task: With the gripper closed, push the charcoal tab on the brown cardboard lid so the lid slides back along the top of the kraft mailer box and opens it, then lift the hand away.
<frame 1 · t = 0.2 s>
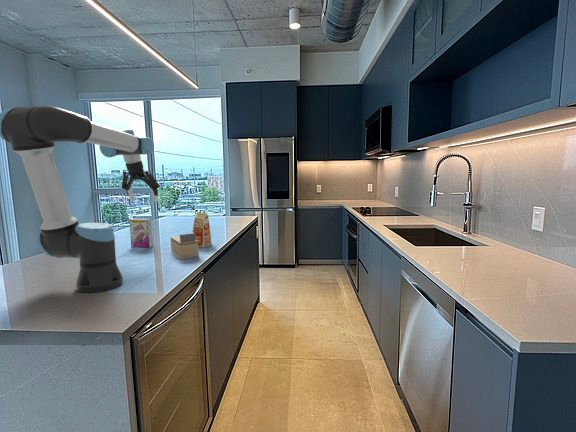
hand: (144, 201, 168), 28 cm above the counter, tool tilted 20°, fingers open, 13 cm apart
candy bar box: (142, 247, 187), on the counter
mailer box: (184, 254, 168), on the counter
milk carton: (202, 245, 190), on the counter
mailer lid: (183, 236, 167), point 10 cm above the counter, slide at 0.0 cm
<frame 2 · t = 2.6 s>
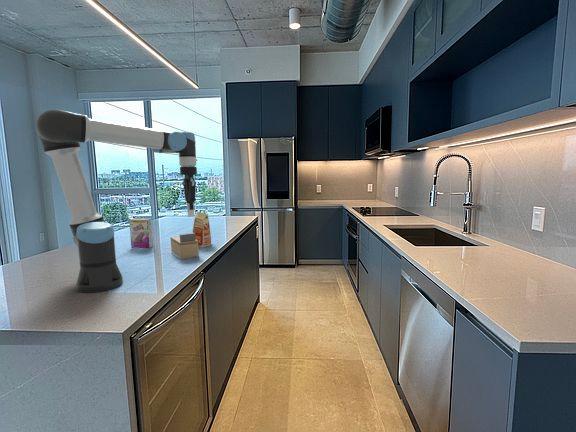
hand: (191, 216, 154), 21 cm above the counter, tool pointing down, fingers closed
nothing on the counter moved.
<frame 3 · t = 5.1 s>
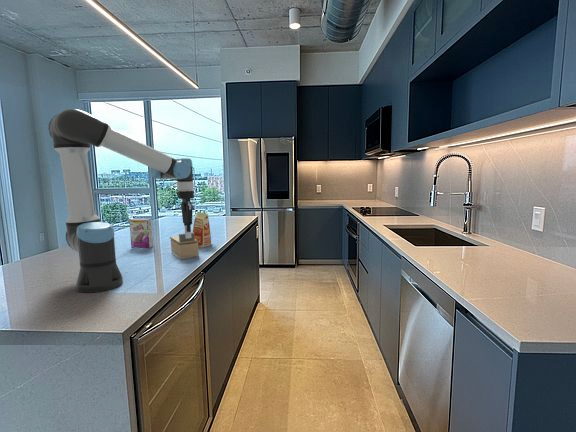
hand: (188, 238, 161), 10 cm above the counter, tool pointing down, fingers closed
mailer lid: (183, 235, 168), point 10 cm above the counter, slide at 1.3 cm, touching gripper
everything else where it was.
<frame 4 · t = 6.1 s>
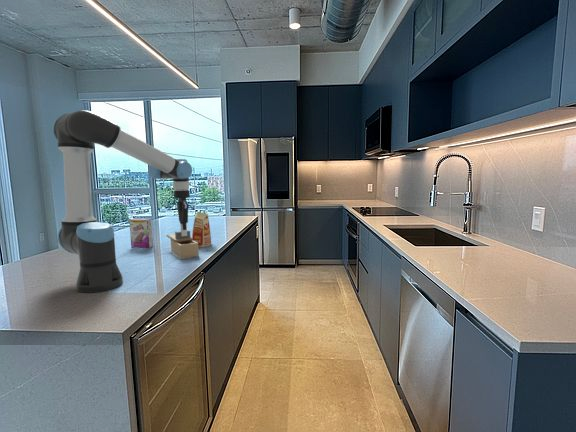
hand: (184, 235, 167), 10 cm above the counter, tool pointing down, fingers closed
mailer lid: (179, 233, 174), point 10 cm above the counter, slide at 8.5 cm, touching gripper
everything else where it was.
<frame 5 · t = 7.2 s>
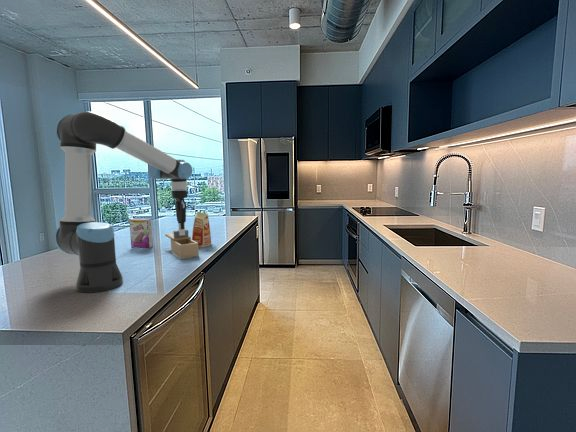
hand: (182, 235, 170), 10 cm above the counter, tool pointing down, fingers closed
mailer lid: (177, 232, 177), point 10 cm above the counter, slide at 11.9 cm, touching gripper
everything else where it was.
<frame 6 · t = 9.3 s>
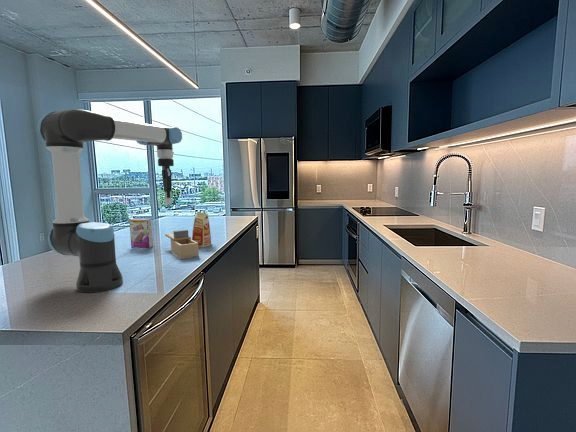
hand: (168, 204, 169), 26 cm above the counter, tool pointing down, fingers closed
mailer lid: (177, 232, 177), point 10 cm above the counter, slide at 11.9 cm
everything else where it was.
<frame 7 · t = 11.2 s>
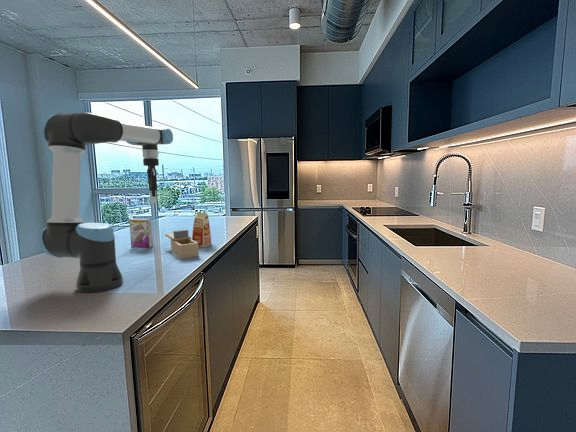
hand: (153, 202, 174), 26 cm above the counter, tool pointing down, fingers closed
nothing on the counter moved.
at the end: mailer lid slide at 11.9 cm; milk carton tilted 0° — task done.
